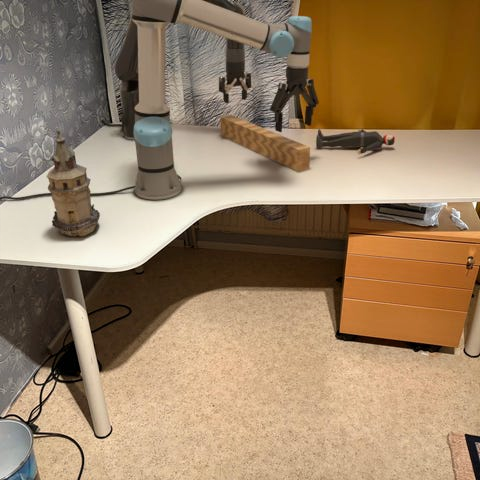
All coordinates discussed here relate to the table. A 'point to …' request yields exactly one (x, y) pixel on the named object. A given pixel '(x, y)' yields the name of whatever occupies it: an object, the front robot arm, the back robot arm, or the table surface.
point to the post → (266, 142)
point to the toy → (355, 140)
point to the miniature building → (70, 193)
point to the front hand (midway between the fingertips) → (293, 128)
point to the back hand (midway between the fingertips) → (235, 101)
